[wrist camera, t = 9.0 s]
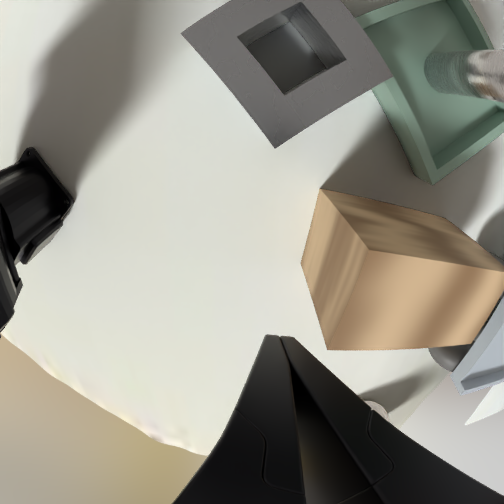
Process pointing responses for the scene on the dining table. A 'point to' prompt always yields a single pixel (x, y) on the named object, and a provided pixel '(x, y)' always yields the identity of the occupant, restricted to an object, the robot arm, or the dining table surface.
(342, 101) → the holder
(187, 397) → the dining table surface
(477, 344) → the trolley
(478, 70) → the pin
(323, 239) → the block
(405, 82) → the tray
